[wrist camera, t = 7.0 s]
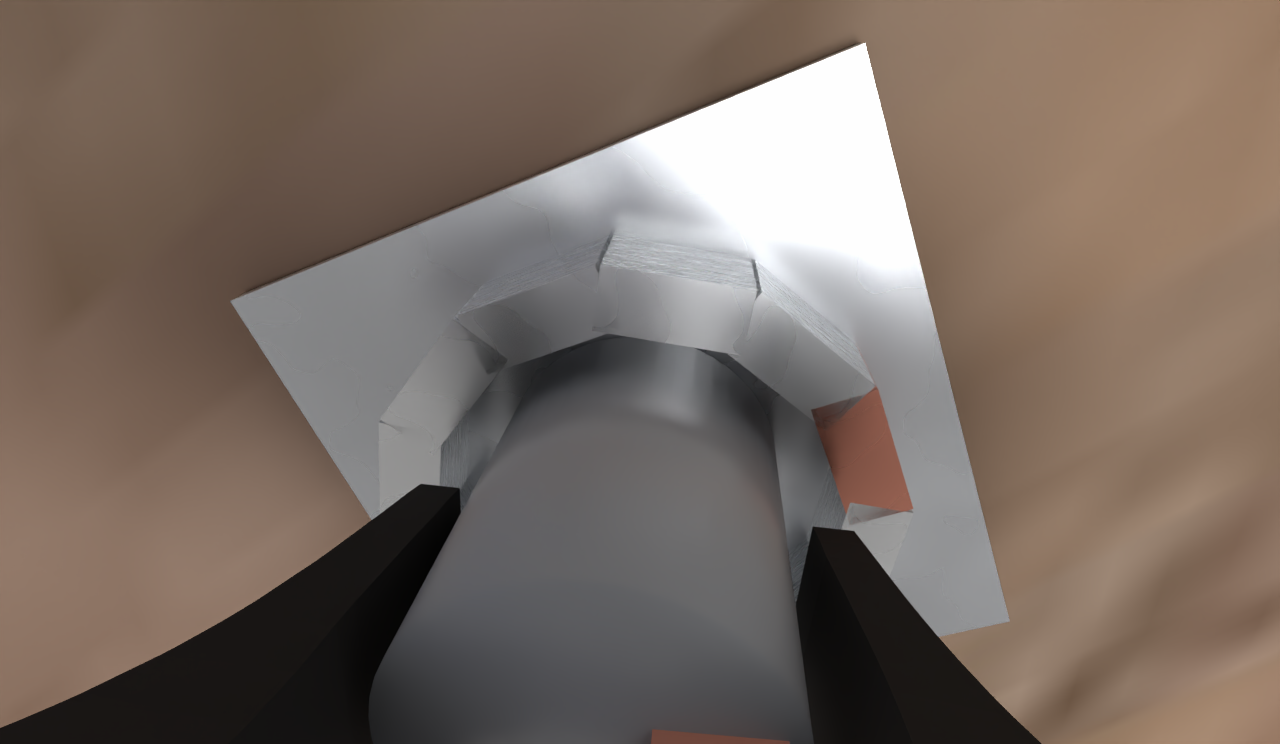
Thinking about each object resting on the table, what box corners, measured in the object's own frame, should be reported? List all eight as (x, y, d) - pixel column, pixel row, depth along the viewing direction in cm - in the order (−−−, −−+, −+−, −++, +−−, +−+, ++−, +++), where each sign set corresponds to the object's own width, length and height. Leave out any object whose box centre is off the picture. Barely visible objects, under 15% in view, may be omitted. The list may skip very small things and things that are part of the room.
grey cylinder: (519, 556, 14) (377, 932, 8) (500, 330, 12) (294, 615, 6) (764, 572, 14) (798, 982, 8) (786, 342, 12) (855, 660, 6)
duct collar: (243, 293, 13) (168, 335, 11) (859, 42, 10) (891, 45, 9) (512, 715, 17) (488, 796, 15) (1001, 606, 15) (1044, 688, 13)
